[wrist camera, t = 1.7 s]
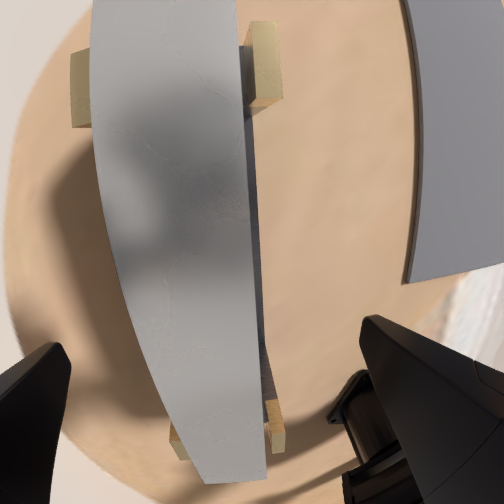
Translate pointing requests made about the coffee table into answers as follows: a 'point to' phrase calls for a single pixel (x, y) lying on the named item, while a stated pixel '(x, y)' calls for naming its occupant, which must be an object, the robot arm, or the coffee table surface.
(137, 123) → the rail
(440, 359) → the robot arm
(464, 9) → the mat
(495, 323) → the coffee table surface
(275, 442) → the grey stand
